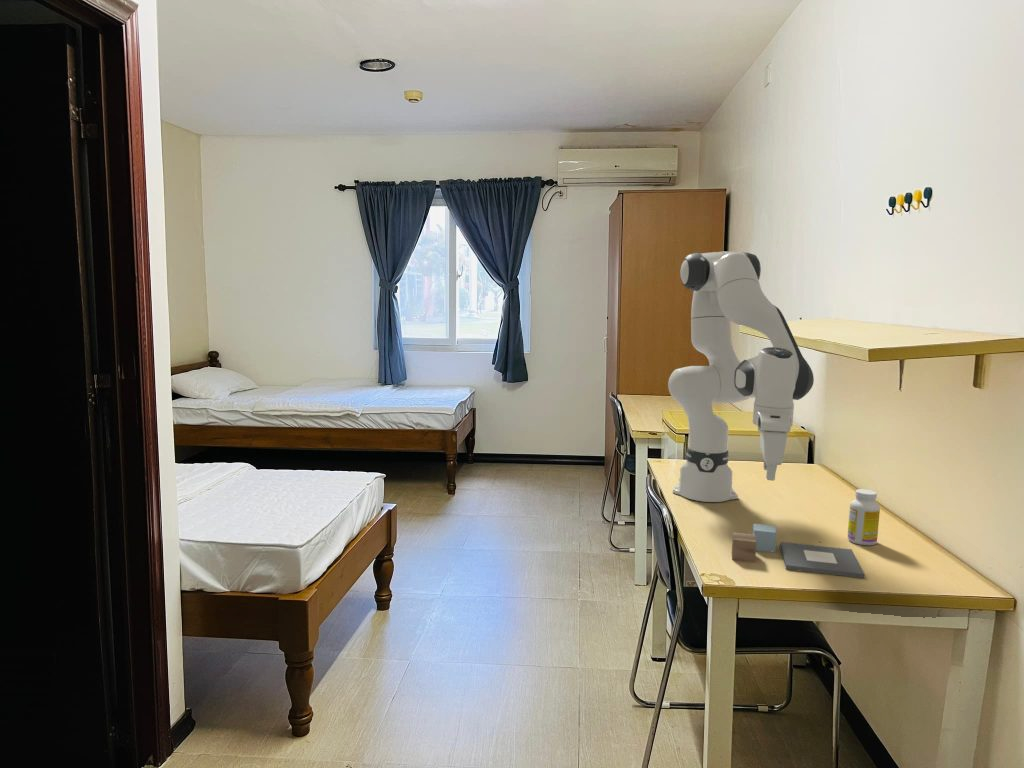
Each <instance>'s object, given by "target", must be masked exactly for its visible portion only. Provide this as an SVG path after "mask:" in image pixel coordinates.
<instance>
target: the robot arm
mask: <svg viewBox="0 0 1024 768" xmlns="http://www.w3.org/2000/svg"><path fill="white" fill-rule="evenodd" d="M679 271H680V272H679V273H680V274H679V275H680V279H681V280H680V281H681V283H682V285H683V286H684V288H685V289H687V290H689V291H693V293H692V300H691V312H690V319H691V320H690V327H691V328H690V331H691V335H690V337H691V338H690V339H691V341H690V342H691V344H692V346H693V348H694V349H695V350H696V351H697V352H699V353H701V354H702V355H704V356H705V357H706V358H707V360H708V363H709V365H690V366H689V365H688V366H684V367H679V368H676V369H674V370H673V371H672V373H671V374H670V376H669V378H668V382H667V388H668V392H669V394H670V396H671V397H672V399H673V400H674V401H675V402H677V403H678V404H679V405H680V407H682V409H683V411H684V412H685V415H686V417H687V421H688V422H687V423H688V447H687V448H686V453H685V455H686V457H685V459H686V461H685V463H683V464H682V466H681V467H680V469H679V479H678V481H679V482H678V484H677V485H675V487H674V488H673V489H672V493H673V494H676V495H680V496H681V497H683V498H686V499H690V500H694V501H697V502H703V503H704V502H705V503H721V502H726V501H730V500H737V499H739V494H738V493H737V492H736V491H735V489H734V488H733V470H732V469H731V467H729V464H728V463H729V457H730V456H729V450H728V444H729V443H728V442H729V441H728V440H729V426H728V423H727V422H726V420H725V419H724V418H722V417H720V416H718V415H717V414H714V412H713V411H714V410H713V404H735V403H739V402H742V401H747V400H749V399H750V398H751V399H752V398H753V399H754V402H753V414H752V424H754V425H755V426H757V431H758V432H760V434H759V435H760V436H759V447H760V450H761V454H762V456H763V467H762V468H763V469H764V471H766V476H765V478H766V480H767V481H775V479H776V472H777V468H778V466H781V465H782V464H783V462H784V461H783V460H784V457H785V451H786V446H787V439H788V433H790V432H791V428H792V427H793V424H794V423H793V421H794V410H795V409H794V408H795V405H794V401H799V400H801V399H803V398H804V397H805V396H806V395H807V394H808V393H809V392H810V391H811V390H812V388H813V386H814V372H813V370H812V367H811V366H810V364H809V363H808V361H807V360H806V358H805V357H803V354H802V352H801V349H800V347H799V346H798V344H797V341H796V339H795V337H794V336H793V333H792V331H791V329H790V327H789V325H788V322H787V320H786V319H785V316H784V314H783V313H782V311H781V310H780V308H779V307H777V306H776V305H774V304H773V303H772V302H771V301H770V300H769V299H768V298H767V296H766V294H764V291H763V290H762V288H761V284H760V281H759V280H760V278H761V273H762V272H761V262H760V260H759V258H758V257H757V255H756V254H754V253H750V252H744V251H743V252H737V251H718V252H717V251H712V252H703V253H702V252H701V253H700V252H693V253H690V254H688V255H686V256H685V257H684V259H683V260H682V262H681V266H680V270H679ZM731 322H732V323H734V324H736V325H739V326H742V327H747V328H750V329H752V330H755V331H757V332H759V333H762V334H763V335H764V336H766V337H767V338H768V339H769V341H770V344H771V345H772V347H771V346H770V347H764V348H762V349H760V351H759V352H758V354H757V355H756V356H754V357H751V358H749V359H744V360H742V361H740V359H739V358H738V356H737V355H736V352H735V350H734V346H733V341H732V330H731Z"/></svg>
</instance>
